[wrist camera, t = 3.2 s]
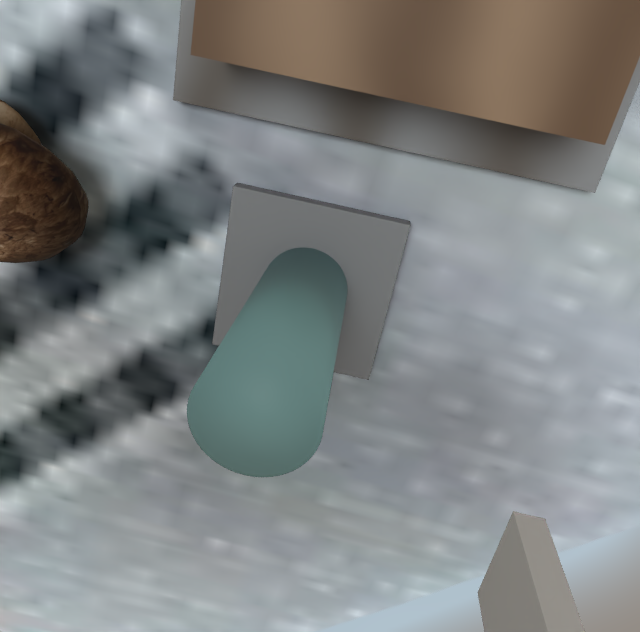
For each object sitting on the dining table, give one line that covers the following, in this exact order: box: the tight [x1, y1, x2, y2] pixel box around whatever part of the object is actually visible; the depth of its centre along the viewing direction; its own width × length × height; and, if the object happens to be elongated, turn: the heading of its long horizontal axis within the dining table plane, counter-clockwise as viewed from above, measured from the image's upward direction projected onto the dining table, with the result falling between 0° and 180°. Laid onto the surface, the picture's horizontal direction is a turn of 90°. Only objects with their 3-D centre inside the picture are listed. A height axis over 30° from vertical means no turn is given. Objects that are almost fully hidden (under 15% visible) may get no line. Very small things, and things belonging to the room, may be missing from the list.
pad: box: [212, 183, 411, 380], centre depth 26 cm, size 8×8×1 cm
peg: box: [187, 247, 348, 477], centre depth 21 cm, size 4×4×11 cm
